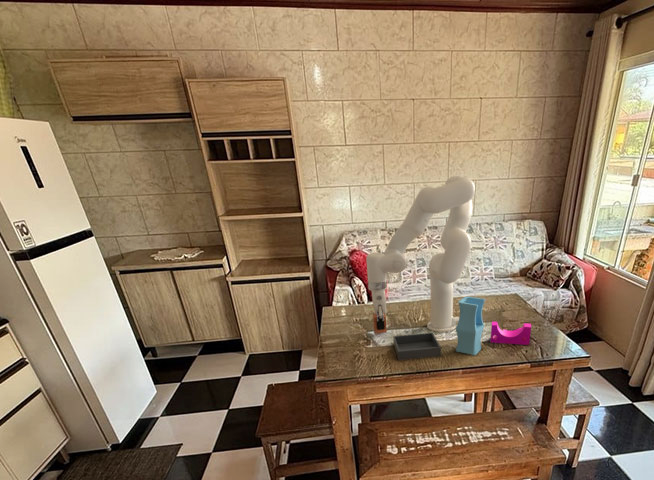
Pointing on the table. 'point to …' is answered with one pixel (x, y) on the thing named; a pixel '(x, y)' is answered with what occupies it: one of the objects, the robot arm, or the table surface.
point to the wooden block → (376, 324)
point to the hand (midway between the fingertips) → (380, 326)
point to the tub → (416, 346)
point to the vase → (470, 325)
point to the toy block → (511, 335)
